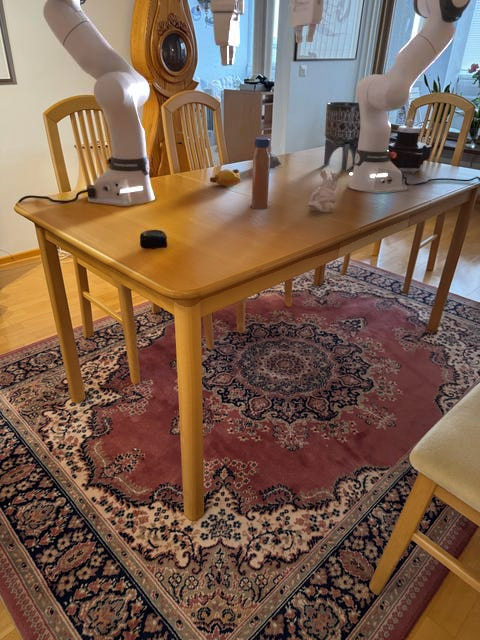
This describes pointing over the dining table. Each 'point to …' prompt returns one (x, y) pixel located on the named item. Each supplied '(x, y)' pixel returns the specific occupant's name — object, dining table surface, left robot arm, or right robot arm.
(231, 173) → the toy
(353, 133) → the planter
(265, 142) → the cap
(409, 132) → the mechanical component
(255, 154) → the bottle
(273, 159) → the rock
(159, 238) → the tape measure
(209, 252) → the dining table surface
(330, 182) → the figurine
